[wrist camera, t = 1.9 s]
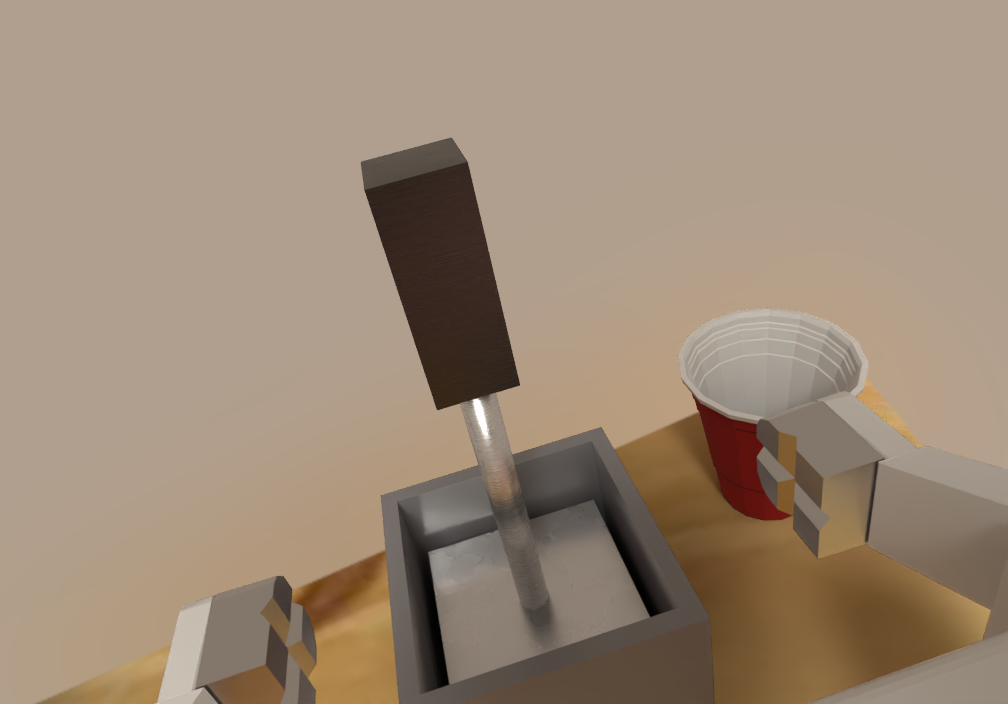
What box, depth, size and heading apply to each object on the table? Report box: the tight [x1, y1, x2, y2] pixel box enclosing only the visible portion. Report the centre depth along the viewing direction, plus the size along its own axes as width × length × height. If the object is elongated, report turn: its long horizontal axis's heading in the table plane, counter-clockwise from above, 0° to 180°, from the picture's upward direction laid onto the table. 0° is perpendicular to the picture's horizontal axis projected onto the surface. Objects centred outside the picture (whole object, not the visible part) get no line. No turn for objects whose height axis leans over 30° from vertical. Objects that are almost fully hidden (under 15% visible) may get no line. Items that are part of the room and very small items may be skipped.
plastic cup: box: [678, 308, 869, 520], centre depth 43 cm, size 11×11×12 cm
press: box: [381, 427, 715, 704], centre depth 33 cm, size 12×12×14 cm
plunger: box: [361, 138, 650, 685], centre depth 26 cm, size 9×9×22 cm
